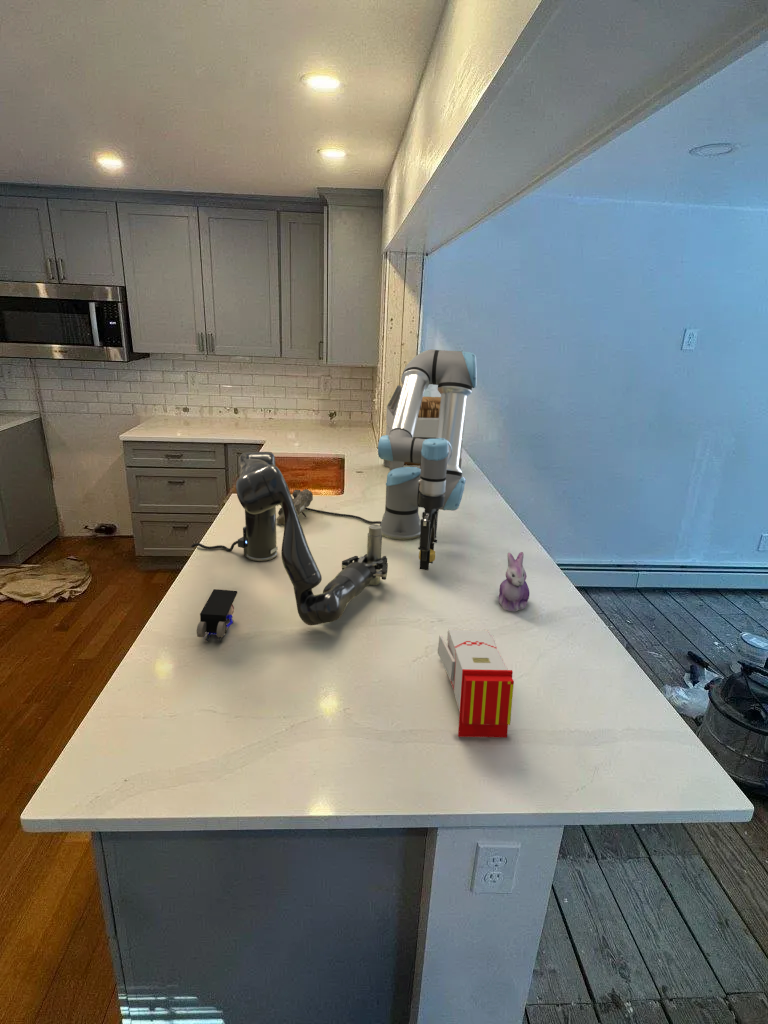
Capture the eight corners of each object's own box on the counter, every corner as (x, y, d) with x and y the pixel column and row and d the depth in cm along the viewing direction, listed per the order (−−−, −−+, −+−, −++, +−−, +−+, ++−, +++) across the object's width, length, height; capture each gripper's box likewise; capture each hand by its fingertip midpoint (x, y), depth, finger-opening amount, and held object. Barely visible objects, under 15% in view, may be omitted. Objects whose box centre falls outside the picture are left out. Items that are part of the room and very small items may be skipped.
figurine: (511, 616, 149) (518, 564, 143) (487, 598, 157) (493, 549, 152) (539, 609, 153) (547, 558, 148) (514, 592, 161) (521, 544, 156)
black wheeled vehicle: (226, 651, 131) (240, 612, 144) (223, 625, 127) (238, 587, 141) (197, 650, 130) (213, 611, 144) (193, 624, 127) (210, 586, 140)
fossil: (282, 495, 221) (310, 474, 216) (298, 513, 224) (326, 493, 219) (266, 520, 201) (297, 498, 196) (284, 540, 204) (315, 519, 199)
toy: (488, 613, 130) (523, 677, 101) (484, 667, 133) (517, 744, 104) (435, 612, 130) (455, 676, 101) (432, 666, 133) (451, 743, 103)
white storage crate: (382, 463, 289) (386, 382, 275) (445, 464, 293) (451, 384, 279) (390, 482, 257) (394, 392, 243) (460, 483, 261) (468, 394, 247)
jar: (376, 578, 167) (378, 523, 161) (382, 584, 163) (384, 528, 157) (363, 580, 165) (365, 525, 159) (369, 586, 162) (371, 530, 156)
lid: (428, 563, 168) (429, 556, 168) (415, 558, 171) (416, 551, 171) (438, 559, 172) (438, 551, 171) (425, 554, 175) (425, 547, 174)
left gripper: (376, 573, 146) (401, 550, 160) (327, 562, 151) (356, 540, 166) (375, 599, 148) (399, 574, 163) (327, 587, 153) (355, 564, 168)
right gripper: (426, 483, 174) (421, 553, 181) (411, 499, 158) (406, 575, 165) (450, 486, 172) (444, 557, 179) (437, 503, 156) (431, 579, 163)
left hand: (377, 557), depth 164 cm, fingers closed on jar, 4 cm apart
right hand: (426, 565), depth 172 cm, fingers closed on lid, 5 cm apart
